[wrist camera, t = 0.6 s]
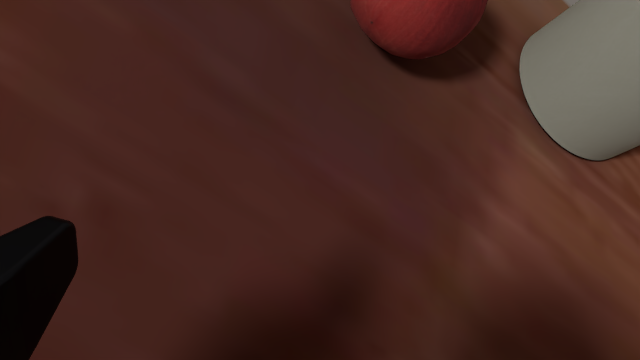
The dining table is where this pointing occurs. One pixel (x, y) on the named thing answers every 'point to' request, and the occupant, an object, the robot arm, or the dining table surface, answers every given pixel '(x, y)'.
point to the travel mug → (587, 77)
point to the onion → (417, 24)
